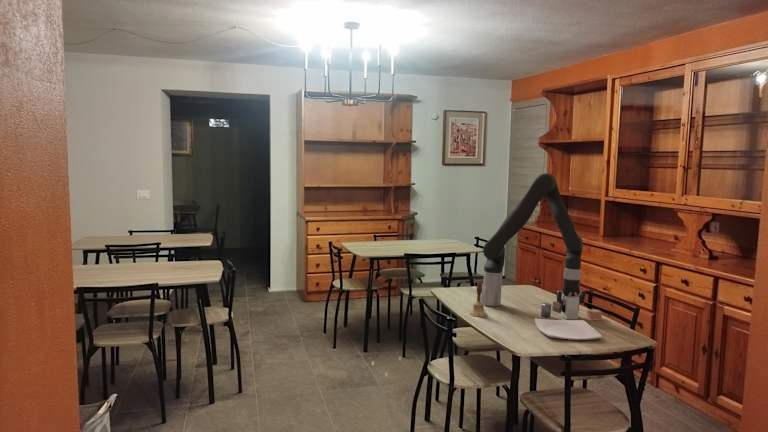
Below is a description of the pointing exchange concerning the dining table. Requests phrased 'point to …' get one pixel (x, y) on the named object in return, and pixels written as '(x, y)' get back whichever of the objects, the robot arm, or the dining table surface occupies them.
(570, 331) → the plate
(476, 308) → the hand bell
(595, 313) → the terracotta block
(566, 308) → the small box
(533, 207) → the robot arm
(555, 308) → the walnut block
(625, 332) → the dining table surface
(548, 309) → the slate grey cylinder
